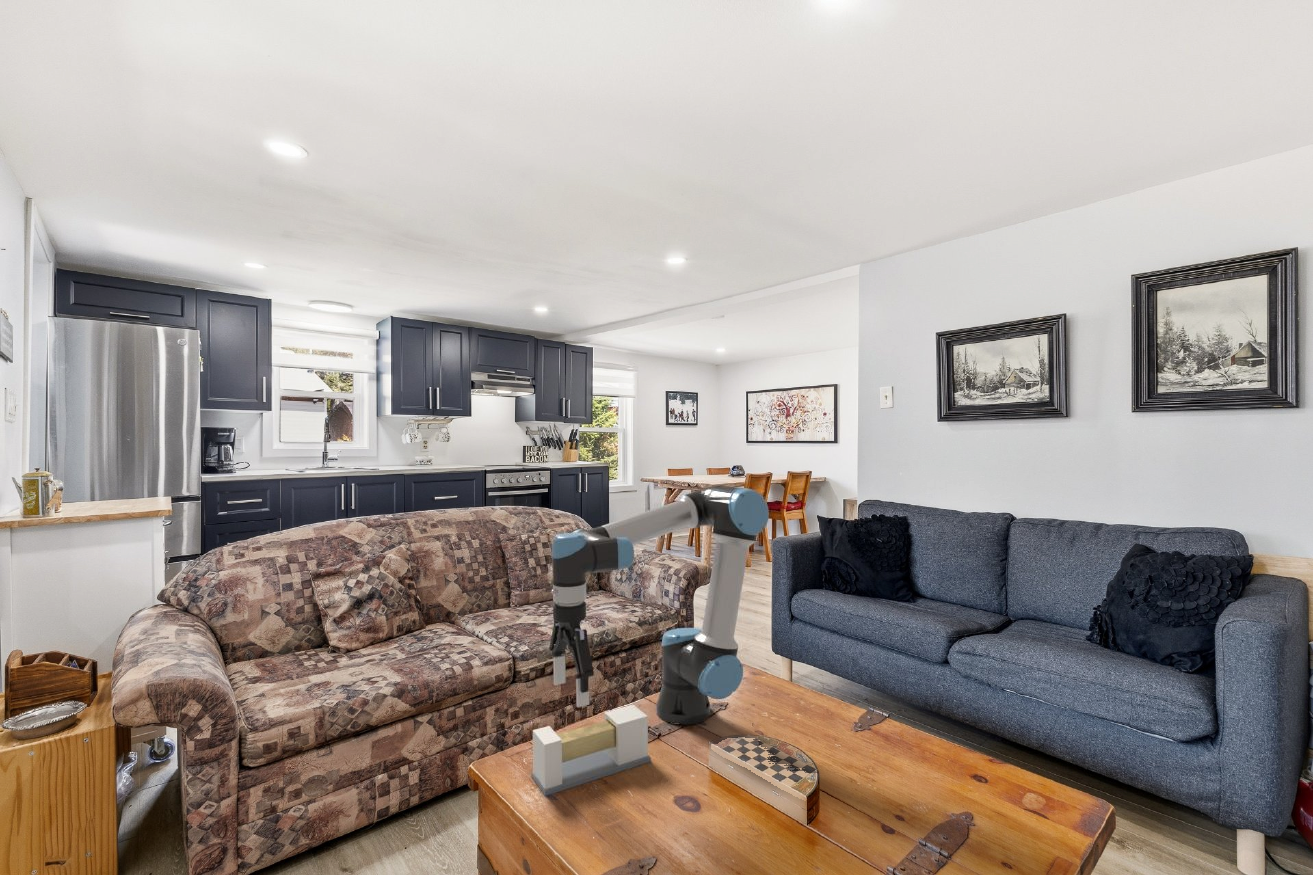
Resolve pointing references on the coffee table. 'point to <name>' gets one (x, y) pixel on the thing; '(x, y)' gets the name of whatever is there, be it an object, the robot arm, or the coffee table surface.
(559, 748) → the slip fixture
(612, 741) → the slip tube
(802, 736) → the coffee table surface
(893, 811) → the coffee table surface
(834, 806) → the coffee table surface
